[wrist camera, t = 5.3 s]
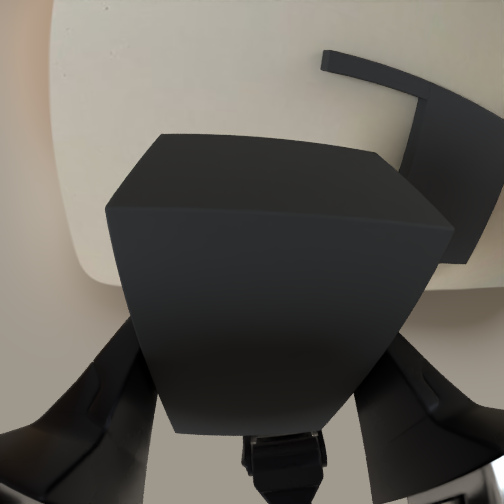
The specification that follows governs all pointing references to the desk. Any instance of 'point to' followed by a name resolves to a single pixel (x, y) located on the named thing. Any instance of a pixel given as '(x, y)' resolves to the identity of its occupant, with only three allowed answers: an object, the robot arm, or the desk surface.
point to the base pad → (443, 150)
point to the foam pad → (267, 275)
